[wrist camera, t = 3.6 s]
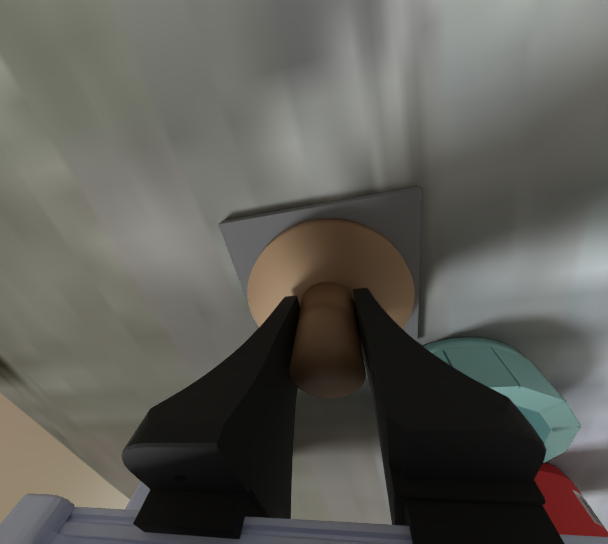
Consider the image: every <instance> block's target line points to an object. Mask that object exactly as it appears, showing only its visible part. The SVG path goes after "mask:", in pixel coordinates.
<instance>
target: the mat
mask: <svg viewBox="0 0 608 544" xmlns="http://www.w3.org/2000/svg"><path fill="white" fill-rule="evenodd" d="M318 218H342V219H348V220H352V221H356V222H359V223H362V224H364V225H367V226H369V227H371V228H373V229H375V230H376V231H378V232H379V233H381V234H382V235H384V236H385V237H386V238H387V239H388V240H389V241H390V242H391V243H392V244H393V245H394V246H395V247H396V248H397V250H398V252H399V253H400V255H401V256H402V258H403V260H404V261H405V263H406V265H407V266H408V268H409V271H410V273H411V276H412V279H413V283H414V292H415V298H414V306H413V309H412V313H411V315H410V317H409V320H408V322H407V323H406V325H405V326H404V328H403V330H404V331H405V332H406V333H407V334H409V335H410V336H411V337H412V338H413V339H415V340H416V341H417V338H418V308H419V278H420V248H421V219H422V188H421V187H419V186H415V187H409V188H403V189H398V190H392V191H386V192H381V193H375V194H369V195H364V196H358V197H352V198H347V199H341V200H336V201H330V202H324V203H319V204H313V205H307V206H302V207H296V208H290V209H285V210H279V211H273V212H268V213H262V214H256V215H251V216H245V217H239V218H234V219H228V220H223V221H222V222H221V223H219V224H218V225H219V227H220V230H221V232H222V235H223V238H224V240H225V243H226V246H227V248H228V251H229V254H230V256H231V259H232V262H233V264H234V267H235V270H236V272H237V275H238V278H239V280H240V283H241V286H242V288H243V291H244V294H245V296H246V299H247V302H248V297H247V286H248V280H249V276H250V273H251V271H252V268H253V266H254V264H255V263H256V261H257V259H258V257H259V256H260V254H261V252H262V251H263V249H264V248H265V247H266V245H267V244H268V243H269V242H270V241H271V240H272V239H273V238H274V237H275V236H277V235H278V234H279V233H281V232H282V231H284V230H285V229H287V228H289V227H291V226H293V225H295V224H298V223H301V222H304V221H308V220H312V219H318ZM255 323H256V322H255ZM256 325H257V323H256ZM257 328H259V326H258V325H257Z"/></svg>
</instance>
